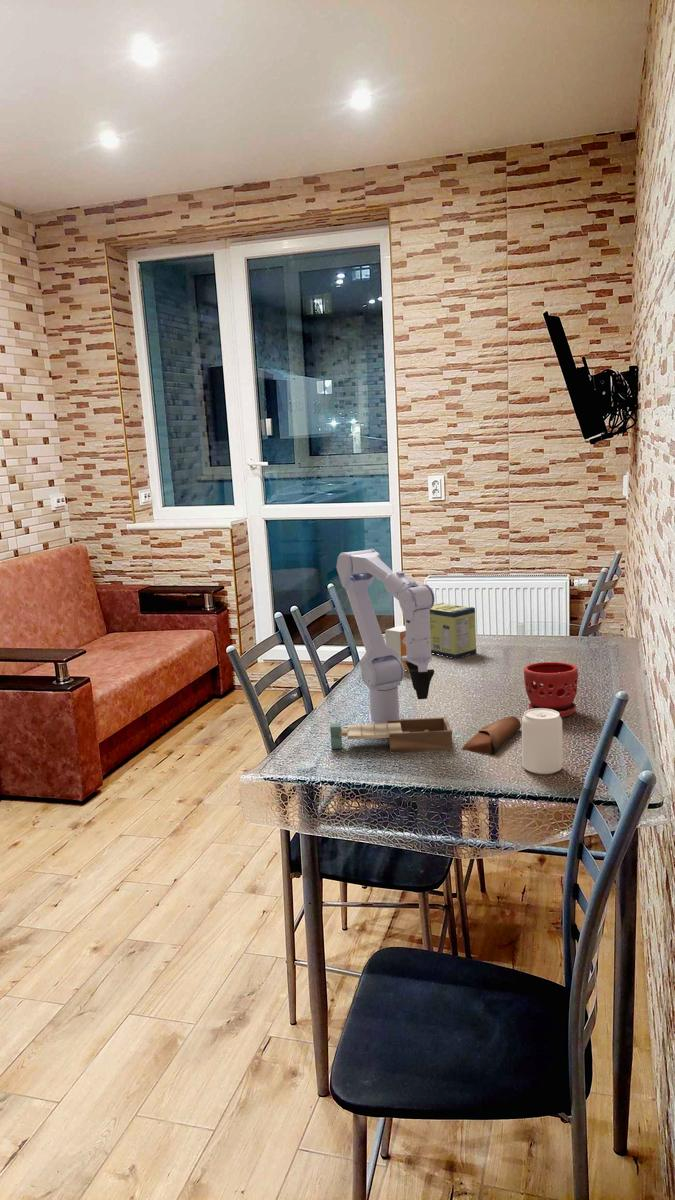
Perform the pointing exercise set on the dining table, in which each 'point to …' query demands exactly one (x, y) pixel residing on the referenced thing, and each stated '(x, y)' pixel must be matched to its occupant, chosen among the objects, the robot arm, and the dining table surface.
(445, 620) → the protein box
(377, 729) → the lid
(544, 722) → the beverage can
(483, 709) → the dining table surface
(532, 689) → the plant pot
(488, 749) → the sunglasses case
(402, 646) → the small box
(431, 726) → the brown wooden flat box
